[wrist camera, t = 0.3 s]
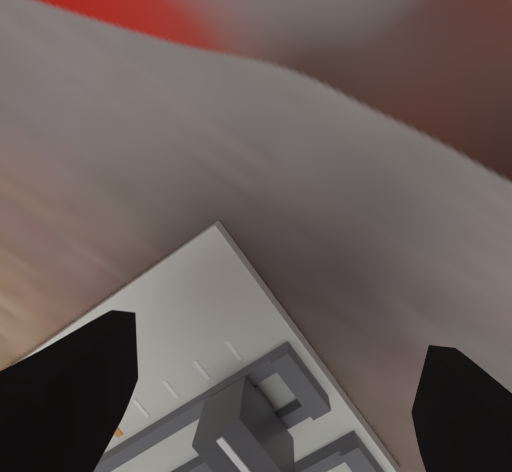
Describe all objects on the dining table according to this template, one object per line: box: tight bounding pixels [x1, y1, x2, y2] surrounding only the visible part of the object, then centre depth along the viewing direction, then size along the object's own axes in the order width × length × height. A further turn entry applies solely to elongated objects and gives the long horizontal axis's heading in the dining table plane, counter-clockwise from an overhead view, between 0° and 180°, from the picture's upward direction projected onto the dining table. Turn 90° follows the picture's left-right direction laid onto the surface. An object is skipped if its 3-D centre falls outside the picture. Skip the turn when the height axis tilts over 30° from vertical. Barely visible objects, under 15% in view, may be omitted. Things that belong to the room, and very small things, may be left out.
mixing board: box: [11, 220, 401, 472], centre depth 22 cm, size 16×17×2 cm
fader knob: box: [192, 376, 295, 472], centre depth 19 cm, size 2×4×4 cm, turn 35°
